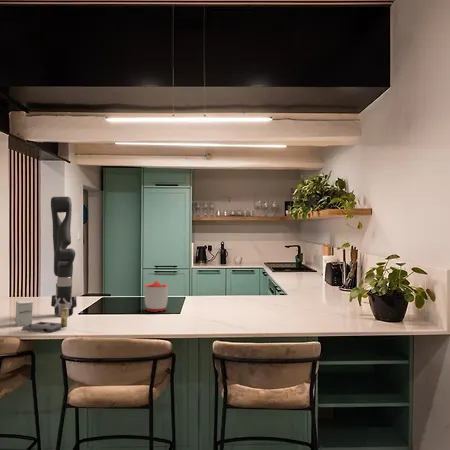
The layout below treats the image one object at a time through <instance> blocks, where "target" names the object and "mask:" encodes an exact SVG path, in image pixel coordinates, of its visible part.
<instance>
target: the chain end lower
mask: <svg viewBox="0 0 450 450" xmlns="http://www.w3.org/2000/svg"><path fill="white" fill-rule="evenodd" d="M21 330H23V331H30V330H32V331H31V332H41V331H44V332H47V331H46V330H47V329H42V328H31V324H29V325H23V326H22V329H21Z"/></svg>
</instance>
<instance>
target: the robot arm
mask: <svg viewBox="0 0 450 450" xmlns="http://www.w3.org/2000/svg"><path fill="white" fill-rule="evenodd" d="M72 209H73V208H72V198H71V197H70V196H52V197H51V198H50V211H51V220H52V243H53V244H52V245H53V274H54V276H55V277H57V280H56V283H55V294H53V295H51V300H50V301H51V304H50V306H51V307H52V308H54V315H55V317H59V318H61V308H68V310H67V317H70V316H73V315H74V309H75V308H77V295H74V296H73V272H74V271H73V270H74V261H75V257H76V251H75V249H73V248H68V247H69V246H70V245H71V244H72V236H71V233H72V232H71V228H72V227H71V225H72V212H73V211H72ZM59 213H62V214H64V213H65V217H64V218H63V220H61V219H60V216H59V215H58V214H59Z"/></svg>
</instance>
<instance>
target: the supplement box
mask: <svg viewBox="0 0 450 450" xmlns="http://www.w3.org/2000/svg"><path fill="white" fill-rule="evenodd" d="M33 308H34V302H33V301H32V300H19V301H16V302H15V325H16V326H17V327H23V326H27V325H29V324H33V310H34V309H33Z"/></svg>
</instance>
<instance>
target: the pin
mask: <svg viewBox="0 0 450 450" xmlns="http://www.w3.org/2000/svg"><path fill="white" fill-rule="evenodd" d="M67 310H68V308H61V317H60V323H61V328H68V316H67Z"/></svg>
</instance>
